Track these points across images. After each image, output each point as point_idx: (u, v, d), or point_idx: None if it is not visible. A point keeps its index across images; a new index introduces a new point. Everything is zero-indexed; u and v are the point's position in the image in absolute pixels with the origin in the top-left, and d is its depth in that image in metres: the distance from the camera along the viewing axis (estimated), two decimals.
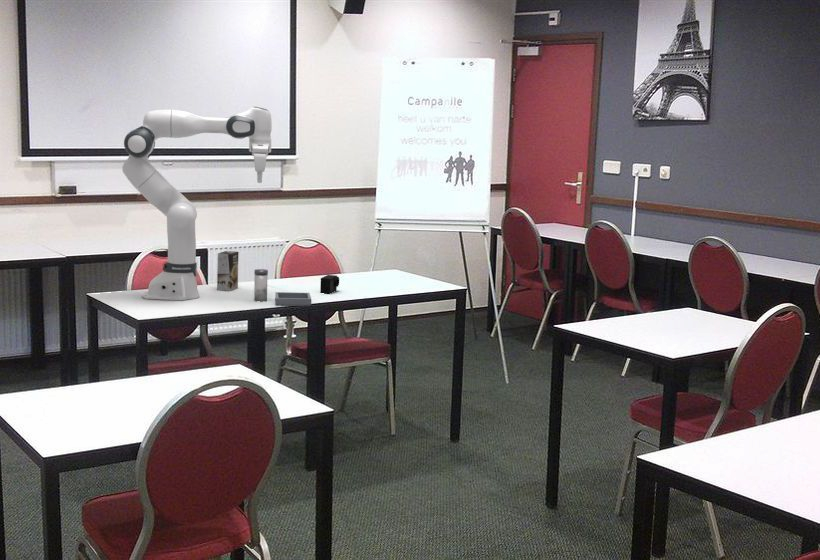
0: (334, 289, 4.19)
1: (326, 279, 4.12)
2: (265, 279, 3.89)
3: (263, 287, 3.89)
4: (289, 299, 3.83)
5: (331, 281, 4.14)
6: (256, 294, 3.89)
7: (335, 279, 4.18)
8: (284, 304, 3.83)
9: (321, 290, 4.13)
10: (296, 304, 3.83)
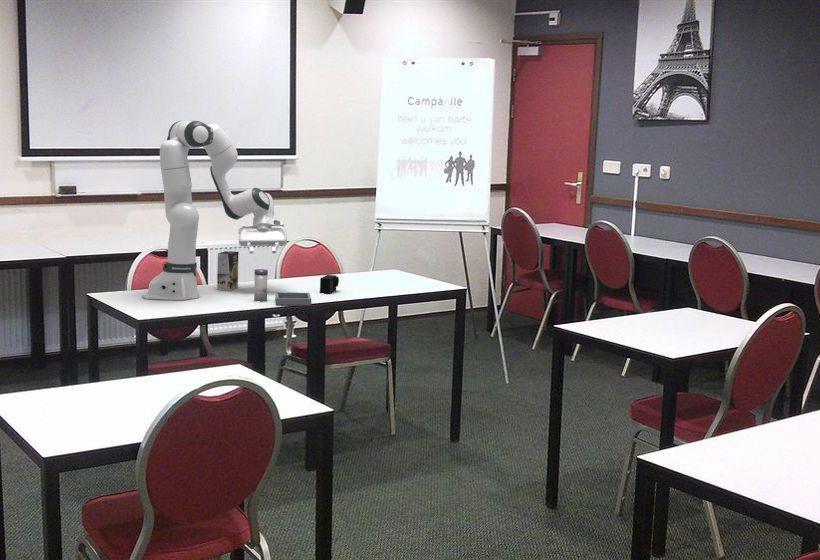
0: (334, 289, 4.19)
1: (326, 279, 4.12)
2: (265, 279, 3.89)
3: (263, 287, 3.89)
4: (289, 299, 3.83)
5: (330, 281, 4.14)
6: (256, 294, 3.89)
7: (335, 279, 4.18)
8: (284, 304, 3.83)
9: (321, 290, 4.13)
10: (296, 304, 3.83)
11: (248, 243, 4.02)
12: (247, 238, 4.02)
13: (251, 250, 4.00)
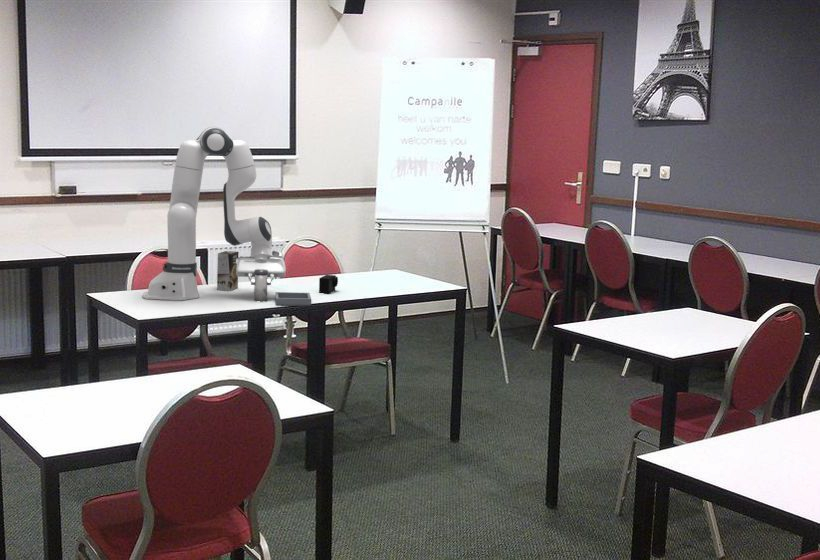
0: (333, 289, 4.20)
1: (325, 279, 4.12)
2: (265, 279, 3.89)
3: (263, 287, 3.89)
4: (289, 299, 3.83)
5: (329, 281, 4.14)
6: (256, 294, 3.89)
7: (334, 279, 4.18)
8: (284, 304, 3.83)
9: (320, 290, 4.14)
10: (296, 304, 3.83)
11: (249, 274, 3.91)
12: (245, 269, 3.91)
13: (253, 281, 3.89)
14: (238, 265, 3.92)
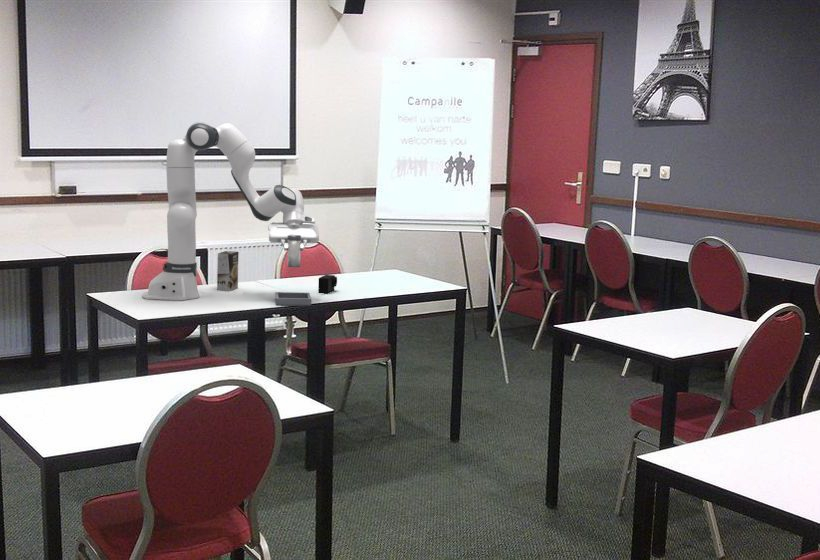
0: (332, 289, 4.20)
1: (324, 279, 4.12)
2: (298, 244, 3.85)
3: (296, 252, 3.85)
4: (289, 299, 3.83)
5: (329, 281, 4.14)
6: (289, 260, 3.85)
7: (333, 279, 4.18)
8: (284, 304, 3.83)
9: (319, 290, 4.14)
10: (296, 304, 3.83)
11: (282, 240, 3.87)
12: (278, 235, 3.87)
13: (286, 247, 3.85)
14: (271, 231, 3.88)
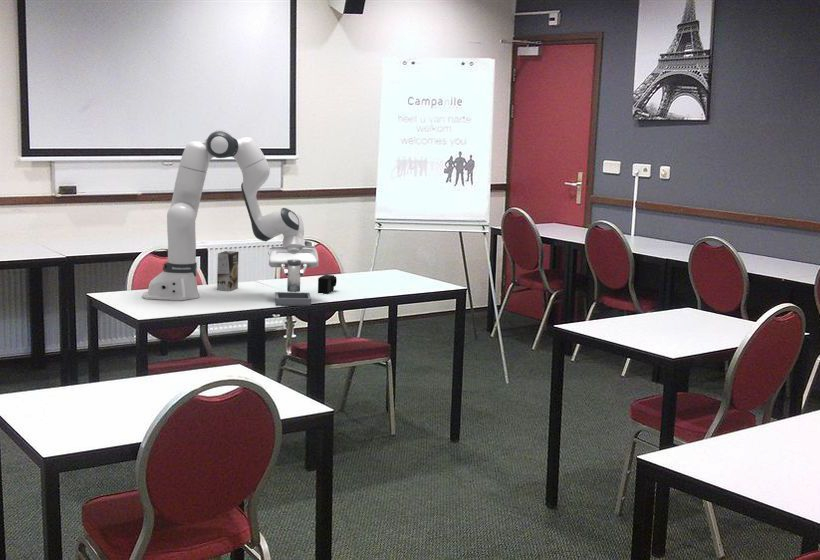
0: (331, 289, 4.20)
1: (324, 279, 4.12)
2: (298, 269, 3.86)
3: (296, 277, 3.86)
4: (289, 299, 3.83)
5: (328, 281, 4.14)
6: (289, 284, 3.87)
7: (332, 279, 4.18)
8: (284, 304, 3.83)
9: (319, 290, 4.14)
10: (296, 304, 3.83)
11: (282, 264, 3.88)
12: (277, 259, 3.89)
13: (286, 272, 3.87)
14: (271, 256, 3.89)
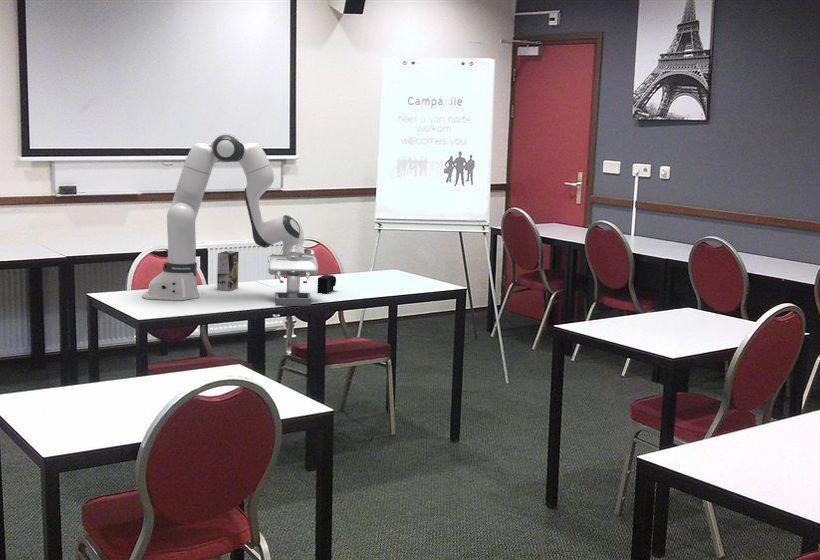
0: (331, 289, 4.20)
1: (323, 279, 4.12)
2: (297, 280, 3.87)
3: (295, 287, 3.87)
4: (289, 299, 3.83)
5: (328, 281, 4.14)
6: (288, 295, 3.87)
7: (332, 279, 4.18)
8: (284, 304, 3.83)
9: (318, 290, 4.14)
10: (296, 304, 3.83)
11: (278, 272, 3.89)
12: (277, 267, 3.89)
13: (281, 279, 3.87)
14: (270, 263, 3.90)
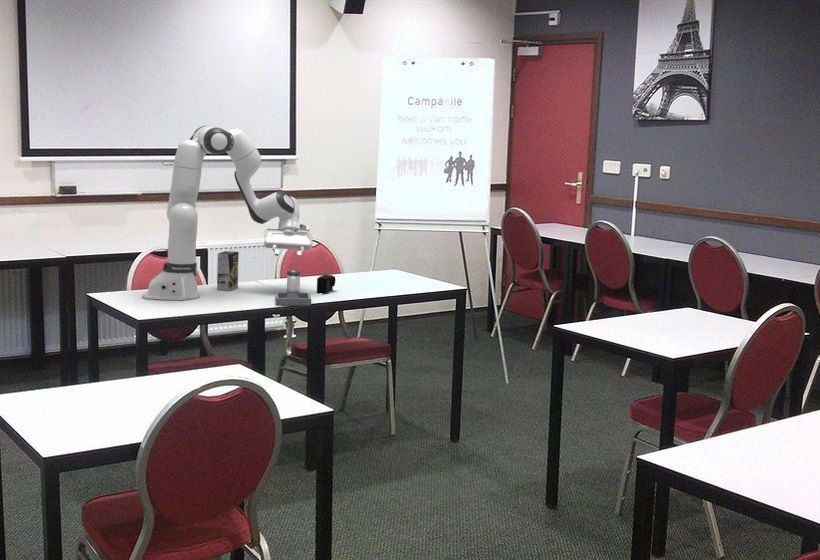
0: (330, 289, 4.20)
1: (323, 279, 4.12)
2: (298, 280, 3.87)
3: (295, 287, 3.87)
4: (289, 299, 3.83)
5: (327, 281, 4.14)
6: (288, 295, 3.87)
7: (331, 279, 4.18)
8: (284, 304, 3.83)
9: (318, 290, 4.14)
10: (296, 304, 3.83)
11: (274, 245, 4.01)
12: (273, 240, 4.01)
13: (277, 252, 3.99)
14: (266, 236, 4.02)
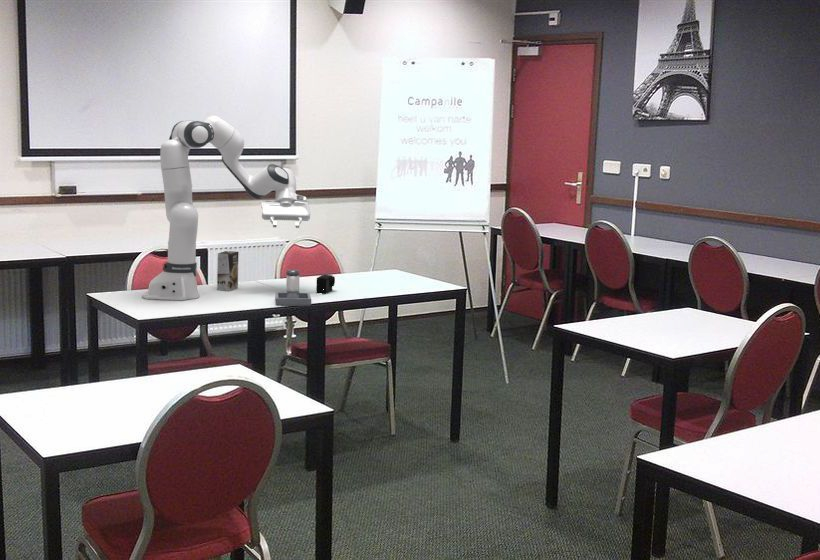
0: (330, 289, 4.20)
1: (322, 279, 4.12)
2: (297, 279, 3.87)
3: (295, 287, 3.87)
4: (289, 299, 3.83)
5: (327, 281, 4.14)
6: (288, 295, 3.87)
7: (331, 279, 4.18)
8: (284, 304, 3.83)
9: (317, 290, 4.14)
10: (296, 304, 3.83)
11: (271, 217, 4.00)
12: (270, 212, 4.01)
13: (275, 224, 3.99)
14: (264, 208, 4.02)
